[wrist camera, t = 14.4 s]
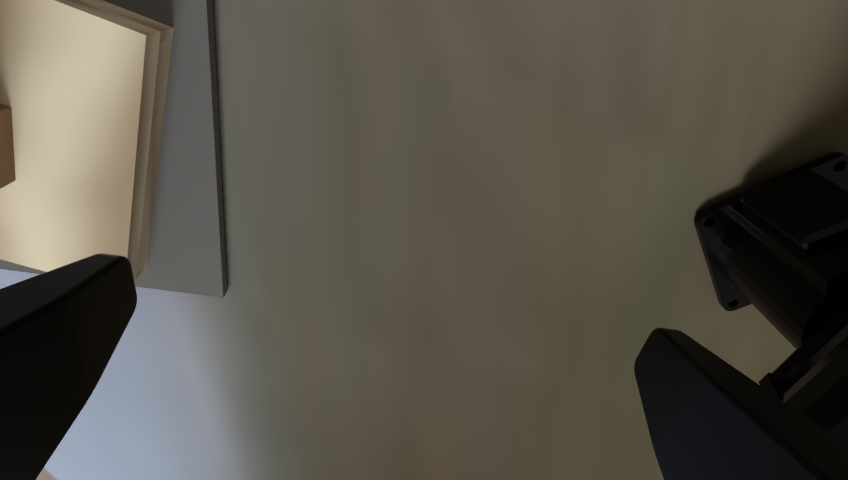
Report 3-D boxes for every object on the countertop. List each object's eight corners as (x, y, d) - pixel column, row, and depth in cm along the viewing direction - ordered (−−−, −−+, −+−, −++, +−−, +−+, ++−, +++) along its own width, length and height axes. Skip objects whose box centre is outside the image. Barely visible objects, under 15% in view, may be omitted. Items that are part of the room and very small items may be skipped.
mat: (208, -82, 16) (201, -84, 15) (227, 290, 24) (223, 297, 23) (-331, -194, 14) (-359, -199, 14) (-115, 245, 22) (-127, 252, 22)
